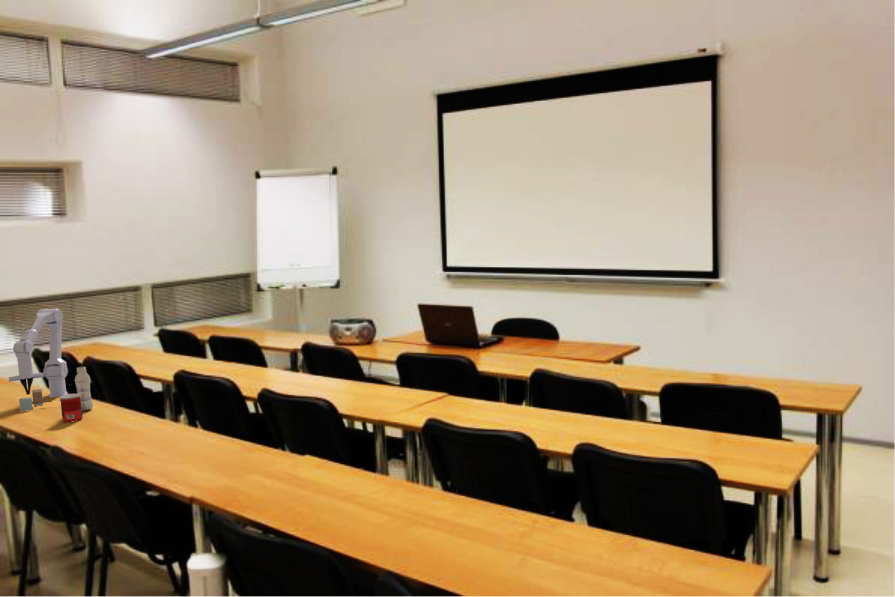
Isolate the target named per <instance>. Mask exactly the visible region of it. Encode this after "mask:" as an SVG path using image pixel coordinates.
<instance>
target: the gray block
mask: <svg viewBox="0 0 895 597" xmlns="http://www.w3.org/2000/svg"><path fill="white" fill-rule="evenodd" d="M18 400H19V404H18V405H19V407H20V411H25V412H27V411H26V410H32V411H34V410H33V407H32V403H33V397H32V396H30V397H24V398H23V397H22V398H19V399H18Z"/></svg>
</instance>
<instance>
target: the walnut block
mask: <svg viewBox="0 0 895 597" xmlns="http://www.w3.org/2000/svg"><path fill="white" fill-rule="evenodd" d="M31 395H32V396H31V397H32V403H33V404H34V407H37V406H43V402H44V400H43V398H44V397H43V392H42V388H39V389H33V390H31Z"/></svg>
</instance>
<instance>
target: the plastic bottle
mask: <svg viewBox="0 0 895 597" xmlns="http://www.w3.org/2000/svg"><path fill="white" fill-rule="evenodd" d="M86 368H87V367H86V366H78V367H76V373H77V374H76V375H75V378H74V382H75V387H76V392H77V393H76V394H80V397H81V406H82V412H83V411H84V412H85V411H86V410H87V411H89V410H91V409H93V406H94V402H93V400H92V396H91V395H92V394H91V377H90V375H89V374H88V373H87V369H86Z"/></svg>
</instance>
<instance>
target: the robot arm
mask: <svg viewBox="0 0 895 597" xmlns="http://www.w3.org/2000/svg"><path fill="white" fill-rule="evenodd" d="M35 316H36V319H35V321H34V323H33V325H32V327H31V328H30V329H27V330H25V331H24V332H25V333H24V334H23V335H22V337H21V338H20V340H19V341H18V340H17V341H16V342H15V343H14V344H13V348H12V350H13V353H14V354H15V357H16V360H17V368H18V375H14V376H13V375H12V376H8V382H9V383H10V382H11V383H12V382H16V381H19V382H20V383H21V385H22V387H23V389H24V390H25V393H26V395H27V396H28V395H31V387H32V386H33V385H32V384H33V381H34V379H38V378H39V379H40V378H42V379H43V378H44V377H45V378H46V380H48V387H49V394H48V395H49V398H50V399H51V398H60V397H61V396H64V395H68V391H67V388H66V377H67V376H68V373H69V369H68V365H67V361H66V360H64V359H62V336H63V335H62V325H63V320H64V319H63V316H64V315H63V312H62V311H61V310H60V309H59V308H47V309H46V308H45V309H43V308H41V309H39V310H38V311H37V313H36V315H35ZM44 326H47V327H48V328H49V359H48V360H47V361H45V363H44V368H43V372H37V373H34V372H33V371H34V370H33V363H32V356H31V355H32V354H31V353H32V351H33V350H34V349H33V348H34V344H35V342H36V341H37V339H38V338H39V332H40V331H41V330H42V328H44Z"/></svg>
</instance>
